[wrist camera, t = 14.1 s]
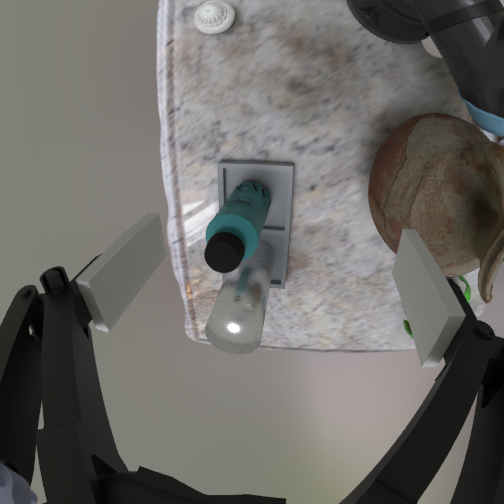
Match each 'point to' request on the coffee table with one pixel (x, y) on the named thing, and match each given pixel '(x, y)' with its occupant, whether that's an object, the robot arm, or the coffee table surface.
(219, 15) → the white lidded jar
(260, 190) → the beverage bottle
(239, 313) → the canister
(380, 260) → the coffee table surface
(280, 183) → the tray
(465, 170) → the jug
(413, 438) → the robot arm
